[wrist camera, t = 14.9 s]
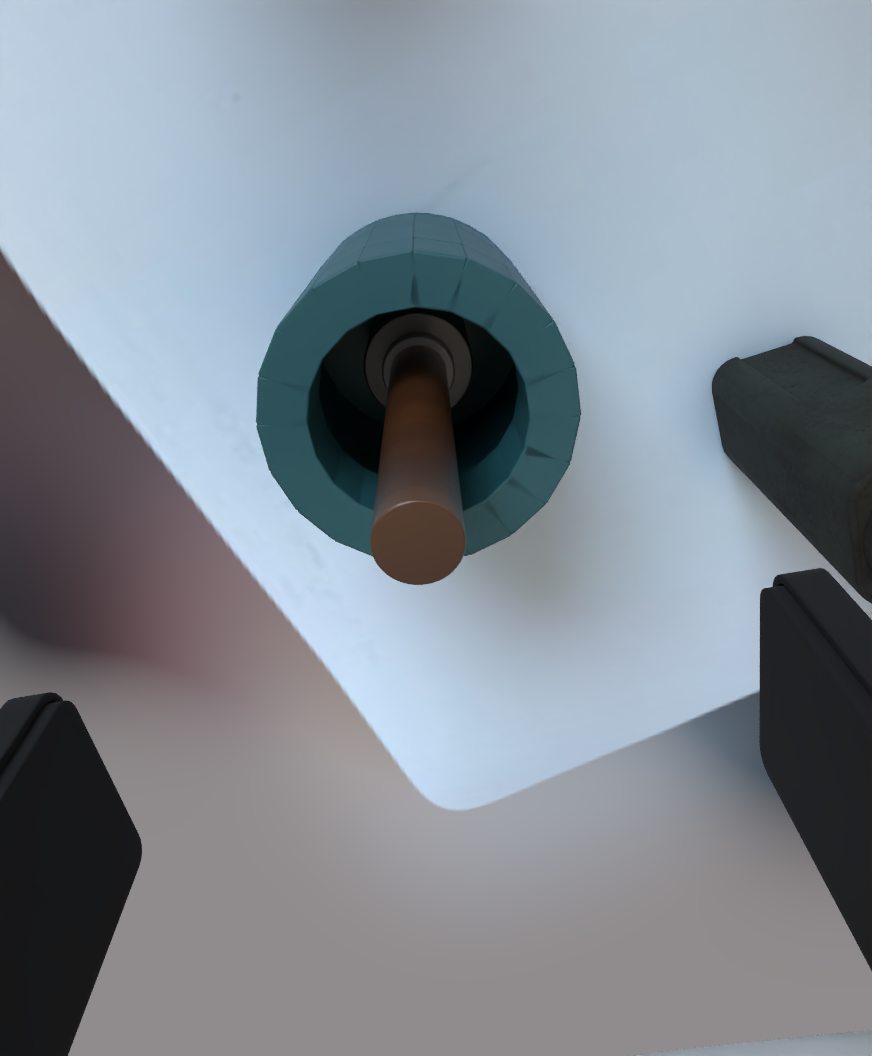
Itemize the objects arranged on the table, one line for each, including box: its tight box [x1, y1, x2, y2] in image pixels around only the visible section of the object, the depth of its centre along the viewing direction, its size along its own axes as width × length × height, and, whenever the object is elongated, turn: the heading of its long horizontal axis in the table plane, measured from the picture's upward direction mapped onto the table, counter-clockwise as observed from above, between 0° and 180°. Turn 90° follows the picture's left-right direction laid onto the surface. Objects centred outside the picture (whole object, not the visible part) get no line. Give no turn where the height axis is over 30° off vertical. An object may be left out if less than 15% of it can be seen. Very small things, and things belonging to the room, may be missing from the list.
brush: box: [364, 307, 473, 585], centre depth 25 cm, size 4×4×19 cm
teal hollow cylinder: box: [256, 213, 581, 556], centre depth 29 cm, size 9×9×12 cm
